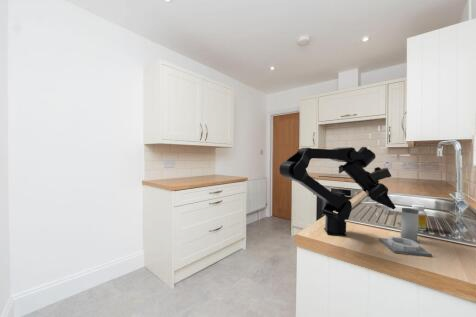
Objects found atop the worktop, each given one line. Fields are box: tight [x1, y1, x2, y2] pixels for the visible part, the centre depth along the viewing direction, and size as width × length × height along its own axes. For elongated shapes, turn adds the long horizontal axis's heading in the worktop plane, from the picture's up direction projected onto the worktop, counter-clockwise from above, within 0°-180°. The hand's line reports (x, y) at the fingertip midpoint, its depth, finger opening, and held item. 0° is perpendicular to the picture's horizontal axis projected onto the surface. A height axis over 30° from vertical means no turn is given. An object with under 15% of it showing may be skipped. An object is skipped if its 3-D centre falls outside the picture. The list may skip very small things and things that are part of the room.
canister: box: [400, 207, 419, 243], centre depth 75 cm, size 5×5×11 cm
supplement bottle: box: [411, 204, 428, 232], centre depth 87 cm, size 5×5×10 cm
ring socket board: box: [378, 236, 433, 258], centre depth 68 cm, size 10×10×2 cm
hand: (391, 205), depth 77 cm, fingers open, 9 cm apart
